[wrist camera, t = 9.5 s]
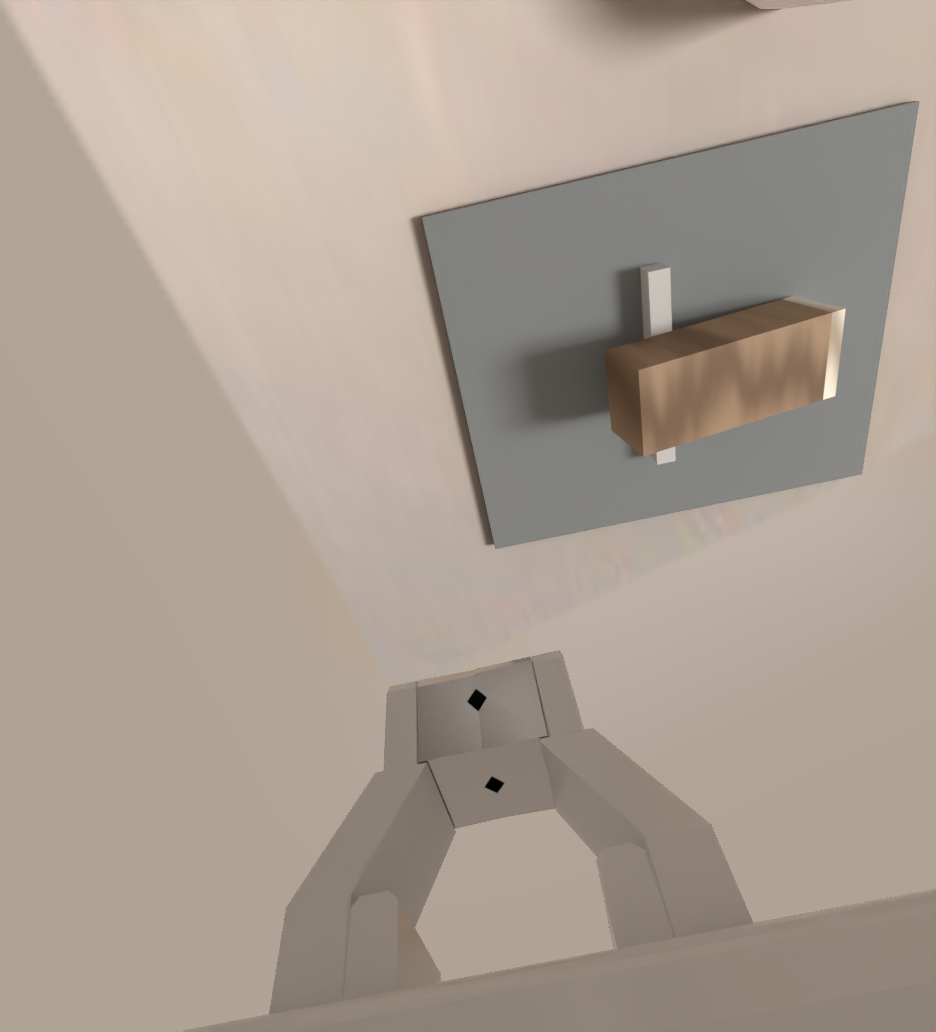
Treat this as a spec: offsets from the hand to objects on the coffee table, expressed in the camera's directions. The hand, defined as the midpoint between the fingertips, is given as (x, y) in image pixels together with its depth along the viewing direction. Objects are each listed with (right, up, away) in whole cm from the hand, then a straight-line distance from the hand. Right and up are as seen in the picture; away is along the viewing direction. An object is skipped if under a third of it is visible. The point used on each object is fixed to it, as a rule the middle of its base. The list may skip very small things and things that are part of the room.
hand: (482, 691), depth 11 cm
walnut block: (+8, +9, +24) cm, 27 cm away
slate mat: (+12, +13, +28) cm, 33 cm away
